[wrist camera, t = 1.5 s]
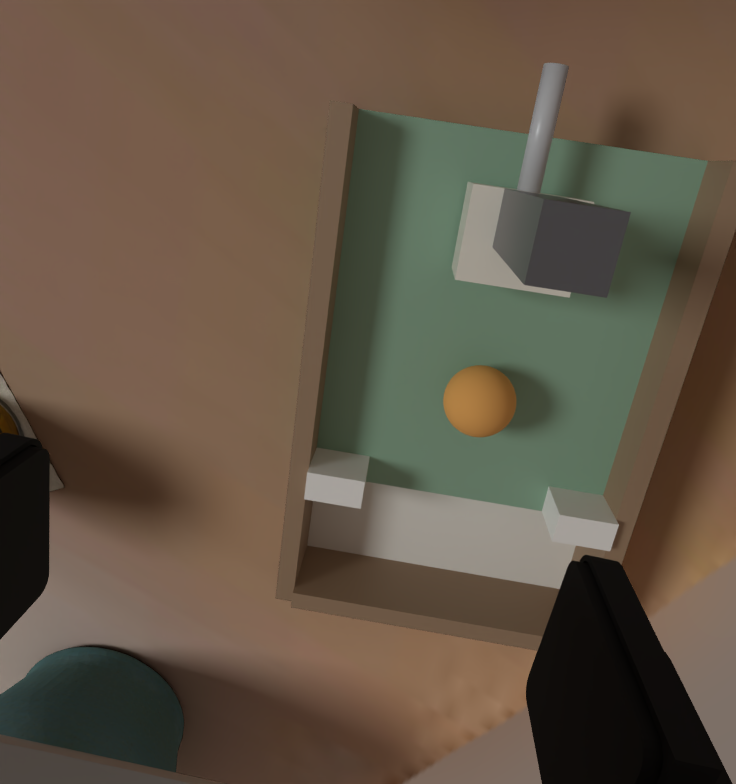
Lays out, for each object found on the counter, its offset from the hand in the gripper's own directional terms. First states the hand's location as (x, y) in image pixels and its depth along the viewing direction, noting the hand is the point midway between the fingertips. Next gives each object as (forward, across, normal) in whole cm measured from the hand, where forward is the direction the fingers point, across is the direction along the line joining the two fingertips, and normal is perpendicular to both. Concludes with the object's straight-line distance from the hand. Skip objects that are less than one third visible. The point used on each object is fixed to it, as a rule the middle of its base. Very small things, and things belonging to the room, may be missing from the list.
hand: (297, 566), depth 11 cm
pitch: (+24, -6, +4) cm, 25 cm away
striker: (+22, -5, -7) cm, 24 cm away
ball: (+20, -6, +3) cm, 21 cm away
